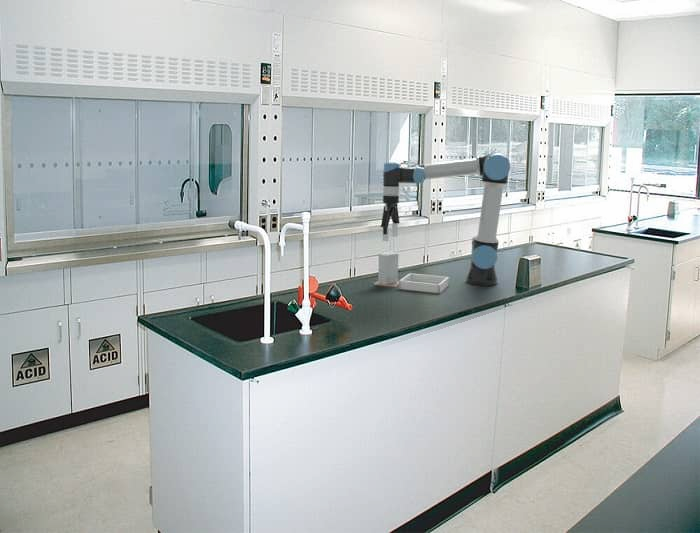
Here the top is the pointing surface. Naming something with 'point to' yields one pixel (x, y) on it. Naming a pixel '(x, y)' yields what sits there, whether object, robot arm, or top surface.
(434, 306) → the top surface
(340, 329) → the top surface
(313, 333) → the top surface
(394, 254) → the skincare box
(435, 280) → the bin
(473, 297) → the top surface
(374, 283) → the tile
